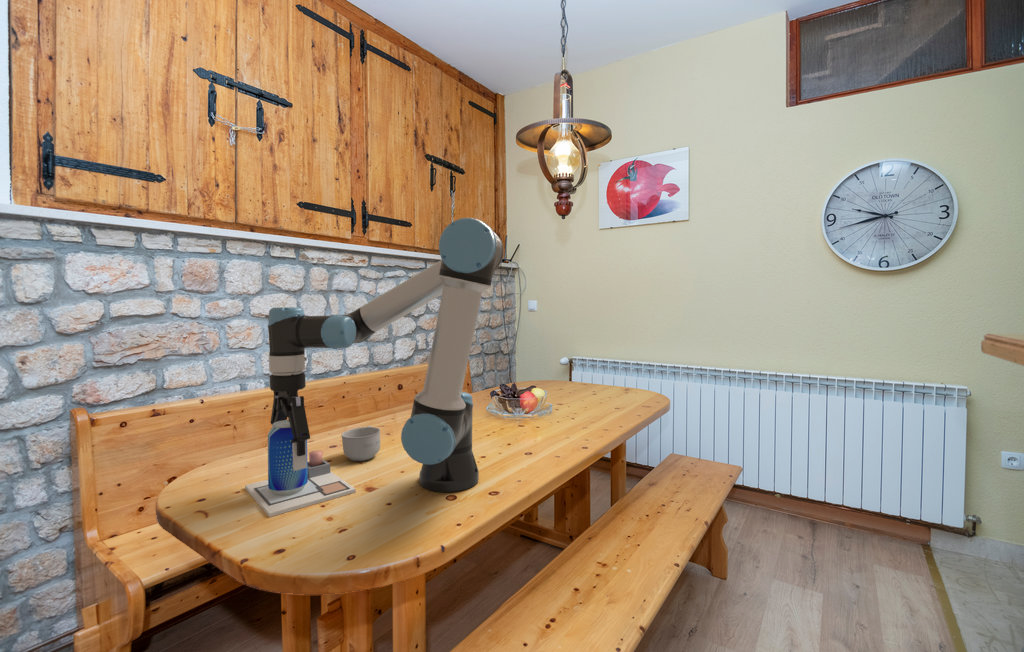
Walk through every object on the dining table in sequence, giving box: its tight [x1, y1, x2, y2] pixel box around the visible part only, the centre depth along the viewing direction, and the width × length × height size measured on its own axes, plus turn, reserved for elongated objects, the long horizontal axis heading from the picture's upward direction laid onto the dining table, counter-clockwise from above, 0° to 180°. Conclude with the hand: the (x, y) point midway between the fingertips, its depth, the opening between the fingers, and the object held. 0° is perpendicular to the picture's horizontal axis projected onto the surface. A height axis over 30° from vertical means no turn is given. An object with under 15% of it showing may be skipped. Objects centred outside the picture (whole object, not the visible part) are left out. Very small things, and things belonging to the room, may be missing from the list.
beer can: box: [267, 419, 308, 495], centre depth 107 cm, size 8×8×16 cm
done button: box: [308, 449, 324, 466], centre depth 119 cm, size 3×3×3 cm
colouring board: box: [244, 458, 357, 518], centre depth 109 cm, size 20×19×3 cm
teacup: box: [340, 425, 381, 462], centre depth 134 cm, size 14×11×8 cm
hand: (289, 461), depth 107 cm, fingers open, 13 cm apart
